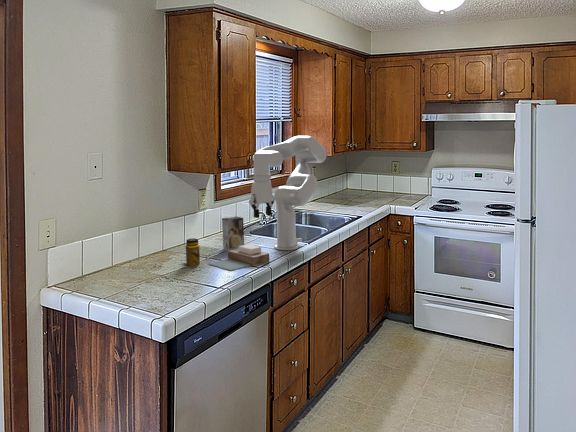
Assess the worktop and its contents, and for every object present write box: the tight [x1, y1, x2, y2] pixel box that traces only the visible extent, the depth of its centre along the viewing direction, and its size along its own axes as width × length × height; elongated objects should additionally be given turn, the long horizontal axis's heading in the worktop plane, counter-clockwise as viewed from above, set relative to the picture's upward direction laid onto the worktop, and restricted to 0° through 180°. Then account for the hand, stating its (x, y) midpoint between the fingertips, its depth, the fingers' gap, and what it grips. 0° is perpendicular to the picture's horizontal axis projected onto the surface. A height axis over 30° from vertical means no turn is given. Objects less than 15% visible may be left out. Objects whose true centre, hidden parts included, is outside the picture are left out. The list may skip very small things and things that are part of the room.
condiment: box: [181, 237, 202, 269], centre depth 248 cm, size 7×8×12 cm
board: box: [227, 249, 270, 267], centre depth 255 cm, size 10×18×4 cm, turn 45°
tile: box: [239, 243, 262, 255], centre depth 255 cm, size 6×9×2 cm, turn 45°
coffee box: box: [221, 216, 245, 252], centre depth 277 cm, size 9×6×16 cm
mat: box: [208, 258, 252, 272], centre depth 248 cm, size 12×16×1 cm
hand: (262, 216), depth 259 cm, fingers open, 7 cm apart
